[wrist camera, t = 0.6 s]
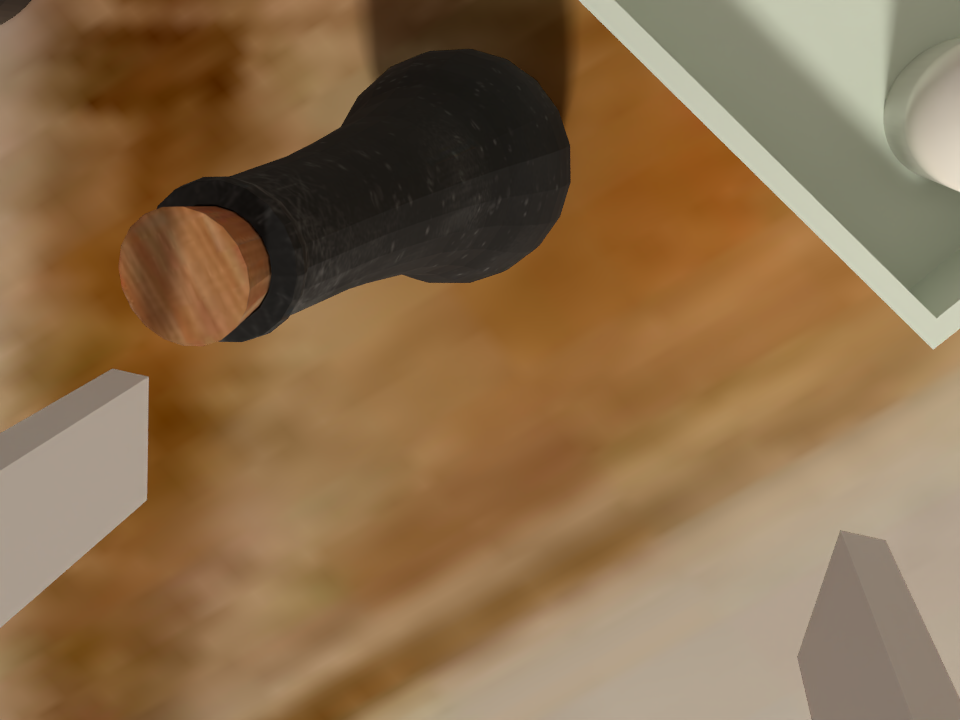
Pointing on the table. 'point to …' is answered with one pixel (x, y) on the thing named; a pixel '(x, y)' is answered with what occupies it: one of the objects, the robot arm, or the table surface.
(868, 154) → the tote
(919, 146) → the cream capsule cylinder
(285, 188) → the bottle
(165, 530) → the table surface
